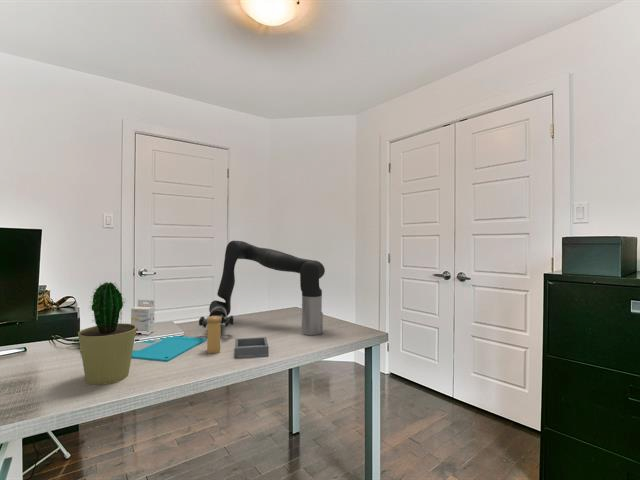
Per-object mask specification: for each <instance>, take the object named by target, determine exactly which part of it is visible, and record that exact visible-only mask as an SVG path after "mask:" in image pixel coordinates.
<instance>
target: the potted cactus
mask: <svg viewBox="0 0 640 480" xmlns="http://www.w3.org/2000/svg"><path fill="white" fill-rule="evenodd" d="M99 282H100V283H99V285H97V287H96V288H93V292H92V297H91V299H92V301H89V302H90V303H91V305H89V307H91V310H89V311H93V319H92V321H91V320H90V321H91V323H95V325H94V326H91V327H87V328H83V329H81V330H80V331H78V332H77V335H78V337H77V338H78V341H79V342H78V343H79V349H80V355H81V360H82V367H83V373H84V377H85V382H86V384H88V385H92V386H93V385H94V386H98V385H99V386H100V385H101V386H102V385H108V384H112V383H116V382H117V383H118V382H119V381H122V380H124V379H126V378H127V377H128V376H129V374H130V369H131V361H132V358H131V357H132V351H133V345H134V340H136V338H135V337H136V334H135V333H136V328H137V326H136V325H134V324H131V323H126V322H125V323H121V322H119V321H120V320H121V319H122V317H121V316H123V312H122V309H123V308H124V306H125V305H124V304H125V303H126V301H127V299H126V298H123V293H122V292H121V291H120V289H119V288H117V287H118V283H116V282H112V281H110V282H107V281H104V282H103V284H102V283H101V281H99Z"/></svg>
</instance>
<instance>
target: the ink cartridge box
mask: <svg viewBox="0 0 640 480" xmlns="http://www.w3.org/2000/svg"><path fill="white" fill-rule="evenodd" d="M155 310H156V309H155V300H153V299H137V306H135V307H131V308H130V313H131V314H130V315H131V316H130V324H134V325H136V326H137V328H136V331H147V332H149V331H151V330H153V329H154V330H155Z"/></svg>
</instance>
